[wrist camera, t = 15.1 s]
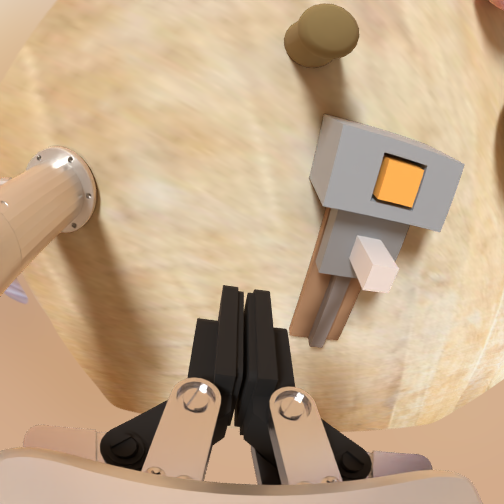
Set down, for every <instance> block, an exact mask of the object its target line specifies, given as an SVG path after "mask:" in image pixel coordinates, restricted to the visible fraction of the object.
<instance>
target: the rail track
mask: <svg viewBox="0 0 504 504" xmlns="http://www.w3.org/2000/svg"><path fill="white" fill-rule="evenodd" d="M330 211H331V208H330V207H326V210H325V213H324V217H323V221H322V224H321V228H320V231H319V235H318V238H317V241H316V245H315V248H314V252H313V255H312V258H311V262H310V265H309V268H308V271H307V275H306V278H305V281H304V284H303V287H302V291H301V294H300V297H299V300H298V303H297V306H296V309H295V312H294V315H293V318H292V321H291V324H290V327H289V333H290V335H291V336H301V337H308V339H309V345H310V347H321V348H322V347H323V344H324V342H325V340H326V339H332V340H338V339H339V337H340V334H341V332H342V330H343V328H344V326H345V324H346V321H347V319H348V317H349V315H350V313H351V310H352V308H353V306H354V304H355V301H356V299H357V297H358V294H359V292H360V290H361V285H360V282H359V280H358V278H351V277H344V276H337V275H330V274H323V273H319V272H318V268H317V265H316V258H317V255H318V252H319V249H320V245H321V242H322V239H323V235H324V232H325V229H326V225H327V222H328V218H329V215H330Z"/></svg>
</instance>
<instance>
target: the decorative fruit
mask: <svg viewBox="0 0 504 504" xmlns="http://www.w3.org/2000/svg"><path fill="white" fill-rule="evenodd" d="M488 1H489V2H491V3H492V4H493V5H495V6H496V7H498V8H500V9H502V10H504V0H488Z"/></svg>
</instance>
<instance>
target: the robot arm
mask: <svg viewBox="0 0 504 504" xmlns="http://www.w3.org/2000/svg"><path fill="white" fill-rule="evenodd" d="M95 204H96V186H95V181H94V178H93V175H92V173H91V171H90V169H89V167H88V166H87V164H86V163H85V161H84V160H83V159H82V158H81V157H80V156H79V155H78V154H76V153H75V152H73V151H72V150H70V149H68V148H65V147H60V146H53V147H48V148H46V149H43V150H41V151H40V152H38V153H37V154H36V155H34V156H33V158H32V159H31V160H30V162H29V164H28V166H27V168H26V171H25V172H23V173H21V174H19V175H18V176H16V177H14V178H8V177H3V178H1V180H0V297H1V295H2V294H3V293H4V292H5V290H6V289H7V288H8V287H9V286H10V285H11V283H12V282H13V281H14V280H15V279H16V278H17V277H18V276H19V275H20V273H21V272H22V271H23V270H24V269H25V268H26V267H27V266H28V265H29V264H30V263H31V262H32V261H33V260H34V258H35V257H36V256H37V255H38V254H39V253H40V252H41V251H42V250H43V249H44V248H45V247H46V246H47V245H48V244H49V243H50V242H51V241H52V240H53V239H54V238H55V237H56V236H57V235H58V234H59V233H60V232H63V233H68V232H73V231H76V230H78V229H79V228H81V227H82V226H83V225H84V224H85V223H86V222H87V221H88V220H89V219H90V217H91V216H92V214H93V211H94V209H95ZM234 409H235V418H234V425H235V426H237V427H240V435H244V440H245V441H247V442H248V443H249V444H250V445H251V453H252V458H253V463H254V469H255V474H256V478H257V483H258V485H249V484H230V483H217V482H206V481H204V478H205V474H206V470H207V466H208V462H209V458H210V454H211V450H212V446H213V445H214V444H215V443H217V442H218V441H220V440H221V439H222V438H224V436H225V433H226V429H227V426H230V424H231V420H232V416H233V413H234ZM0 504H482V501H481V498H480V496H479V494H478V491H477V489H476V488H475V486H474V484H473V483H472V482H471V481H470V480H469V479H468V478H467V477H465V476H463V475H461V474H458V473H454V472H450V471H444V470H433V469H432V465H431V463H430V461H429V460H428V459H427V458H426V457H424V456H422V455H419V454H405V453H392V452H382V451H373V452H372V453H369V452H366V451H365V450H364V449H363V448H361V447H360V446H359V445H357V444H356V443H354V442H353V441H351V440H350V439H349V438H347V437H346V436H344V435H343V434H341V433H340V432H339V431H337V430H336V429H335V428H333V427H332V426H331V425H329V424H328V423H326V422H325V421H324V420H322V419H321V417H320V414H319V411H318V409H317V406H316V403H315V401H314V399H313V397H312V396H311V395H310V394H309V393H308V392H306V391H304V390H302V389H300V388H297V387H295V383H294V375H293V368H292V361H291V353H290V346H289V339H288V333H287V330H286V329H282V328H273V319H272V308H271V298H270V292H269V291H263V290H256V289H255V290H254V292H253V293H248V294H247V299H246V304H245V309H244V292H240V291H238V287H233V286H225V285H223V290H222V297H221V303H220V310H219V317H218V321H214V320H207V319H200V318H198V319H197V324H196V330H195V336H194V342H193V348H192V354H191V360H190V366H189V372H188V378H187V379H184V380H181V381H180V382H178V383H177V384H176V385H175V386H174V388H173V389H172V391H171V394H170V396H169V399H168V400H167V401H165V402H163V403H161V404H159V405H158V406H156V407H154V408H152V409H150V410H148V411H146V412H144V413H143V414H141V415H139V416H137V417H135V418H133V419H131V420H129V421H127V422H125V423H123V424H121V425H119V426H117V427H115V428H113V429H111V430H110V431H109V432H107V433H106V432H96V430H93V429H79V428H68V427H67V428H66V427H57V426H49V425H35V426H33V427H31V428H30V429H29V430H28V431H27V432H26V434H25V437H24V443H23V447H17V448H10V449H6V450H2V451H0Z"/></svg>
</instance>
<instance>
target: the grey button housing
mask: <svg viewBox="0 0 504 504" xmlns="http://www.w3.org/2000/svg"><path fill="white" fill-rule="evenodd" d="M384 153H388V154H391V155H394V156H398V157H401V158H404V159H407V160H409V161H411V162H412V163H414V164H415V165H417V166H418V167H420V168H421V169H423V170H424V173H423V176H422V179H421V182H420V185H419V188H418V191H417V194H416V197H415V200H414V203H413V206H412V207H408V206H404V205H400V204H396V203H392V202H388V201H384V200H380V199H377V198H376V196H375V195H374V194H373V190H374V187H375V184H376V180H377V177H378V174H379V170H380V167H381V163H382V160H383V156H384ZM464 165H465V164H463V163H461V162H459V161H458V160H456V159H454V158H452V157H450V156H448V155H446V154H444V153H442V152H440V151H438V150H437V149H435V148H433V147H431V146H429V145H426V144H424V143H421V142H418V141H415V140H412V139H409V138H406V137H403V136H400V135H397V134H394V133H391V132H388V131H385V130H382V129H378V128H375V127H372V126H368V125H365V124H361V123H358V122H354V121H350V120H347V119H343V118H339V117H335V116H331V115H327V114H324V116H323V120H322V125H321V129H320V134H319V138H318V143H317V147H316V151H315V156H314V160H313V164H312V168H311V173H310V177H309V178H310V181H311V183H312V185H313V187H314V189H315V191H316V193H317V195H318V197H319V199H320V201H321V204H322V206H324V207H330V208H335V209H340V210H345V211H349V212H354V213H359V214H364V215H369V216H373V217H378V218H382V219H387V220H391V221H396V222H400V223H404V224H409V225H413V226H417V227H421V228H425V229H430V230H434V231H438V232H440V231H441V229H442V226H443V224H444V221H445V219H446V216H447V214H448V211H449V208H450V206H451V203H452V200H453V197H454V195H455V192H456V189H457V186H458V183H459V180H460V177H461V174H462V171H463V168H464Z"/></svg>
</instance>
